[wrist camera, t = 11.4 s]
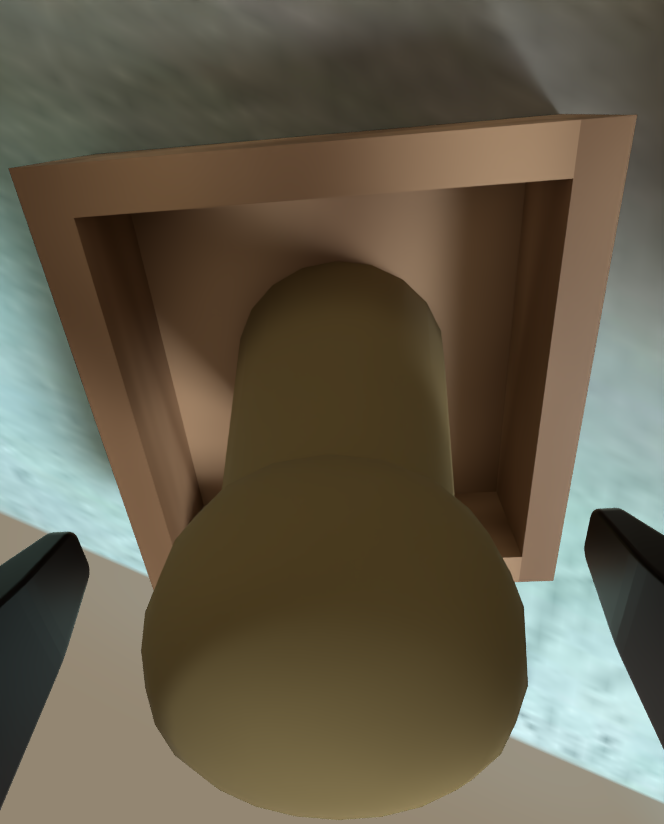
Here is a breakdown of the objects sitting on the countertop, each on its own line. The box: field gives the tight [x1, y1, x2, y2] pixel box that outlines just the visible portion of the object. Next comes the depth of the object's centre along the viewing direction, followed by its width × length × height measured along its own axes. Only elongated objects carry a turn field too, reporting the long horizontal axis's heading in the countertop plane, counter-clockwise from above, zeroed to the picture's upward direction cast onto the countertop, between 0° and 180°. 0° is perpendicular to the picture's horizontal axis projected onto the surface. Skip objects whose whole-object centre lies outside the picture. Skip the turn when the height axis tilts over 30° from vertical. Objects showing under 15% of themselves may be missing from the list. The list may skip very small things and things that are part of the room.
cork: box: [141, 261, 528, 820], centre depth 11 cm, size 6×6×11 cm
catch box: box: [8, 114, 637, 589], centre depth 15 cm, size 12×12×4 cm
